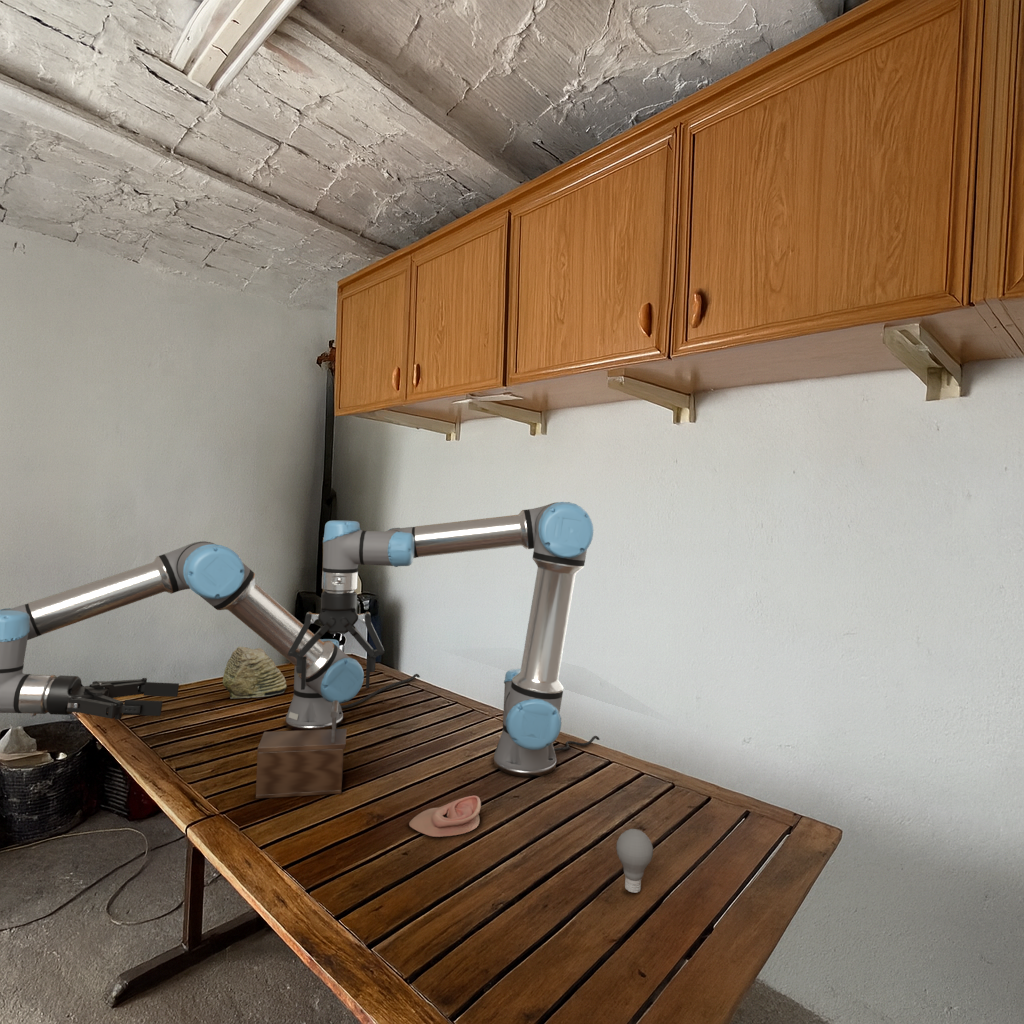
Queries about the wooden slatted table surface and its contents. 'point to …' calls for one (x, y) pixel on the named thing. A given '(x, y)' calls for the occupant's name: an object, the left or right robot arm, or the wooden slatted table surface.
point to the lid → (305, 738)
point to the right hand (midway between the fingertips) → (335, 687)
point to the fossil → (252, 674)
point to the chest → (299, 773)
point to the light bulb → (634, 857)
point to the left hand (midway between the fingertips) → (170, 698)
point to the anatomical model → (449, 818)
